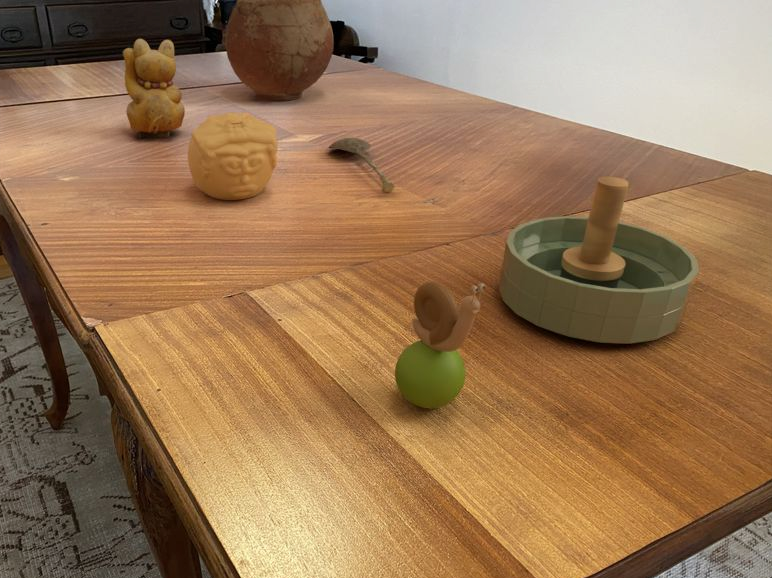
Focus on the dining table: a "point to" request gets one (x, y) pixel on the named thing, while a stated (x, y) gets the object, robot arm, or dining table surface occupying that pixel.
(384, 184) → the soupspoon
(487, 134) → the dining table surface
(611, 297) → the bowl
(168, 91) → the decorative figurine
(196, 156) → the sculpture
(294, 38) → the jug
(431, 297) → the snail figurine
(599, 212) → the dish brush
